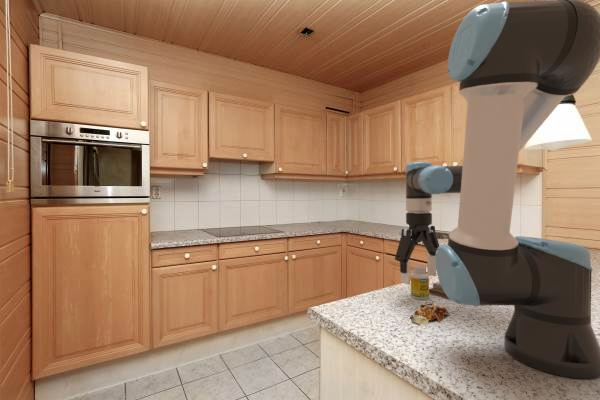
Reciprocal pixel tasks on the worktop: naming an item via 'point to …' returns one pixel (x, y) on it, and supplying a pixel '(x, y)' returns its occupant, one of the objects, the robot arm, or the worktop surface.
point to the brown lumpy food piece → (428, 314)
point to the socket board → (438, 290)
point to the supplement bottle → (419, 283)
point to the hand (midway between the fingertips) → (419, 279)
